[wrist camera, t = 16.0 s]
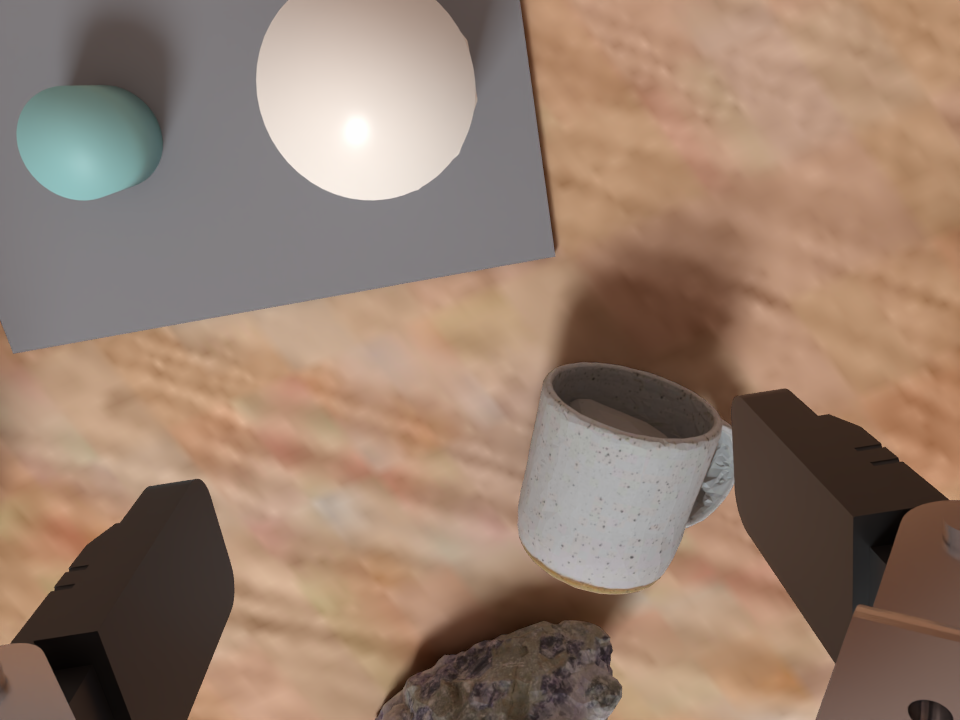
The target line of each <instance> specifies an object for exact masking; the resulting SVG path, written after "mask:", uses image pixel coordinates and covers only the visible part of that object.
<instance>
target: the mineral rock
mask: <svg viewBox="0 0 960 720" xmlns="http://www.w3.org/2000/svg"><path fill="white" fill-rule="evenodd" d="M612 652H613V650H612V645H611V643H610V637H609V636H608V635H607V634H606V633H605V632H604V631H603V630H602V629H601V628H600V627H599V626H597V625H595V624H592V623H589V622H584V621H575V620H564V621H562V622H560V623H559V624H552V623H549V622H546V621H542V622H539V623H536V624H533V625H531V626H528V627H525V628H522V629H519V630H517V631H514V632H512V633H510V634H507V635H499V636H498V637H497V638H495V639H494V640H486V641H482V642H479V643H477V644H474V645H473V646H472V647H471V648H470V649H469V650H467V651H465V652H460V653H458V654H457V655H444V656H443V657H442V658H440V659H439V660H438V662H437V663H436V665H435V666H433V667H432V668H430V669H428V670H425V671H423V672H419V673H417V674H415V675H413V676H411V677H410V678H409V679H408V680H407V682H406V684H405V686H404V688H403V690H402V691H400V692H399V693H397V694H396V695H395V696H394V697H393V698H391V699H390V700H389V701H388V702H387V703H385V704H384V705H383V707H382V709H381V711H380V713H379V715H378V717H377V718H376V719H375V720H607V719H608V716H609V715H610V714H611V713H612V712H613V710H614V709H615V707H616V705H617V704H618V702H619V701H620V699H621V697H622V686H621V684H620V683H619V682H618V680H617V679H616V678H614V677H613V676H612V669H611V667H610V661H611V653H612Z"/></svg>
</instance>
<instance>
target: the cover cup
mask: <svg viewBox="0 0 960 720" xmlns="http://www.w3.org/2000/svg"><path fill="white" fill-rule="evenodd" d="M256 87H257V98H258V103H259V108H260V112H261V115H262V118H263V121H264V124H265V127H266V129H267V131H268V133H269V135H270V137H271V139H272V141H273V143H274V144H275V146H276V147H277V149H278V151H279V152H280V153H281V155H282V156H283V157H284V158H285V159H286V161H287V162H288V163H289V164H290V165H291V166H292V167H293V168H294V169H295V170H296V171H297V172H298V173H299V174H301V175H302V176H303V177H305V178H306V179H307V180H309V181H310V182H311V183H313V184H315V185H317V186H318V187H320V188H322V189H324V190H326V191H329V192H331V193H333V194H336V195H339V196H343V197H346V198H351V199H358V200H384V199H391V198H395V197H399V196H403V195H405V194H408V193H410V192H413V191H416V190H419V189H420V188H421V187H422V186H424V185H426V184H428V183H429V182H430V181H432V180H433V179H434V178H436V177H437V176H438V175H439V174H440V173H441V172H442V171H443V170H444V169H445V168H446V167H447V166H448V165H449V164H450V163H451V161H452V160H453V159H454V158H455V157H456V156H458V155H459V153H460V150H461V147H462V144H463V143H464V141H465V138H466V136H467V133H468V131H469V128H470V125H471V121H472V117H473V113H474V109H475V106H476V103H477V100H478V99H477V93H476V85H475V75H474V68H473V64H472V60H471V55H470V52H469V46H468V41H467V39H466V38H465V37H464V35H463V34H462V33H461V32H460V30H459V28H458V26H457V25H456V24H455V22H454V21H453V19H452V18H451V16H450V15H449V14H448V12H447V11H446V10H445V9H444V8H443V7H442V6H441V5H440V3H438V2H437V1H436V0H288V1H287V2H286V3H285V4H284V5H283V6H282V8H281V9H280V10H279V11H278V13H277V14H276V16H275V17H274V19H273V20H272V22H271V24H270V26H269V28H268V30H267V32H266V34H265V36H264V39H263V42H262V45H261V48H260V52H259V57H258V62H257V72H256Z"/></svg>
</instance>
